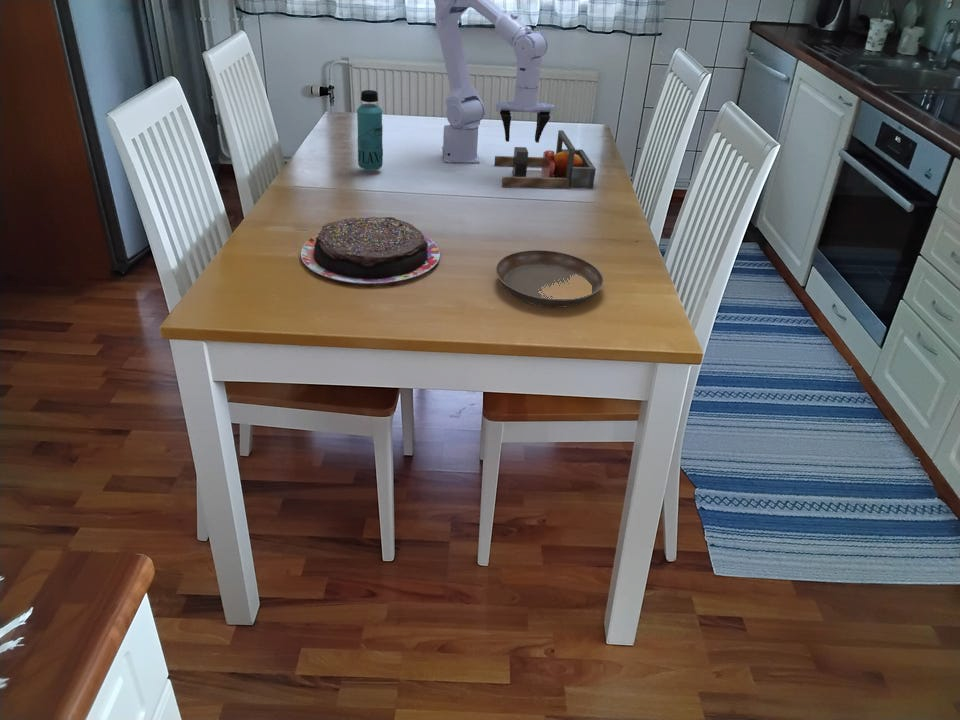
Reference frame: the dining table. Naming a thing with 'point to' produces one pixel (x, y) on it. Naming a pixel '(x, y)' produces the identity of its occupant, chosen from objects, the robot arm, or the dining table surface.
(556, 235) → the dining table surface
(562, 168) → the fruit
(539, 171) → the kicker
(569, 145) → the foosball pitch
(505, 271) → the plant saucer
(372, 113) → the beverage bottle
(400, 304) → the dining table surface
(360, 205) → the dining table surface
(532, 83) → the robot arm
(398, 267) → the chocolate cake
